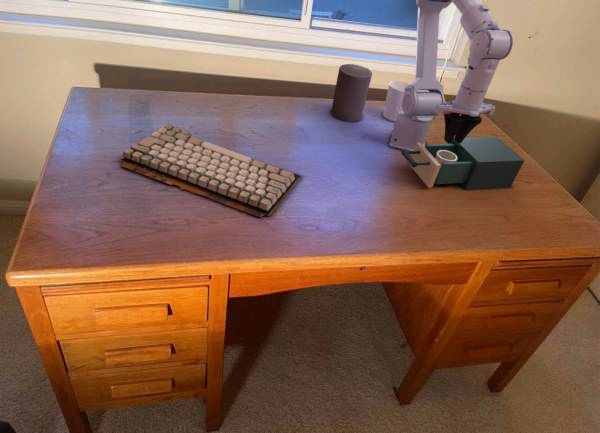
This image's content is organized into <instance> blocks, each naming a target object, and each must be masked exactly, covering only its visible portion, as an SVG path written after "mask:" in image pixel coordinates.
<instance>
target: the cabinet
mask: <svg viewBox="0 0 600 433" xmlns="http://www.w3.org/2000/svg"><path fill="white" fill-rule="evenodd" d="M454 138H455V137H454ZM454 138H453V141H452V142H451V144H457V145H458V146H459V147H460V148H461V149H462V150H463V151H464V152H465V153H466V154H467V155H468V156H469V157H470V158H471V159H472V160H473V161H474V162H475V165H474V167H473V170H472V172H471V174H470V176H469V178H468V181H467V183H459V185H461V186H462V187H463V189H464V190H469V191H470V190H483V189H485V190H486V189H499V188H511V187H512V185H513V184H514V182H515V180H516V179H517V176H518V175H519V172H520V170H521V168H522V167H523V165H524V162H525V161H526V160H525V159H524V158H523V157H522V156H521V155H520V154H518V153H517V152H516V151H515V150H514V149H512V148H511V147H510V146H509V145H508V144H507V143H505V141H503V140H502V139H501V138H500V137H498V136H471V137H469V136H466V137H465V139H464V140H463V141H462V142H461V143H458V142H457V141H456V140H455V139H454Z"/></svg>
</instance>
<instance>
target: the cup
mask: <svg viewBox="0 0 600 433" xmlns="http://www.w3.org/2000/svg"><path fill="white" fill-rule="evenodd" d="M435 159H436V160H437V162H438V163H439V164H440V165H442V163H443V162H457V159H458V158H457V156H456V155H455V154H454V153H452V152H450V151H447V150H439V151H437V153H436V155H435ZM440 168H441V167H440ZM439 170H440V169H439ZM438 173H439V172H438ZM437 175H438V174H437Z"/></svg>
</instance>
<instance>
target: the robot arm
mask: <svg viewBox="0 0 600 433" xmlns="http://www.w3.org/2000/svg"><path fill="white" fill-rule="evenodd" d="M451 4H453V5H454V6H455V8H456V9H457V10H458V12H459V13H460V14H461V16H460V19H459V23H460V26H461V28H462V30H463V31H464V33H465V34H466V36H467V38H468V39H469V45H468V46H469V50H468V51H469V55H468V57H467V62H466V63H467V67H466V69H465V72H464V75H463V78H462V80H461V83H460V85H459V88H458V90H457V94H456V96H455V99H454V100H452V101H446V98H445V94H444V86H443V84H442V83H441V82H440V81H439V80H438V79H437V67H438V50H439V49H438V47H439V46H438V45H439V29H440V28H439V27H440V13H441V12H442V10H443V9H447V8H448V7H449V6H450V5H451ZM415 5H416V6H417V25H416V46H415V47H416V50H415V70H414V79H413V80H412V81H411V82H410V83H409V84H408V85H407V86H406V87H405V93H404V97H403V100H402V109H403V111H404V112H403V111H399V112H398V115H397V118H396V122H395V121H394V125H393V129H391V133H390V139H389V147H390V148H395V149H399V150H403V149H406V150H407V151H414V148H415V145H416V143H421V144H422V145H423V146H424V147H425V146H426V145H425V143H426V139H427V136H428V134H429V131H430V128H431V126H432V125H431V124H432V122H433V120H434V121H435V120H436V118H437V116H443V118H444V137H443V141H445V143H446V144H451V142H452V141H453V138H454V139H455V140H456V141H457V142H458V143H461V142H462V141H463V140H464V139H465V137H468V135H469V134H470V132H471V131H473V129H475V128H476V127H477V126H478V125H480V124H481V123H482V122H483V117H482V116H480V115H488V116H493V115H494V113H495V110H496V106H494V105H493V104H491V103H485V102H484V99H485V97H486V96H487V92H488V90H489V87H490V85H491V83H492V80H493V78H494V76H495V74H496V70H498V66H499V64H500V61H501V60H504V59H506V58H507V57H508V56H509V55H510V54H511V51H512V49H513V45H514V38H513V35H512V33H511V31H510V30H509V29H503V28H502V27H499V24H498V22H497V21H496V20H495V19H494V17H493V16H492V14H491V13H490V11H489V10H490V7H489V6H488V5H486V4H482V3H477V1H476V0H415Z"/></svg>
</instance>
